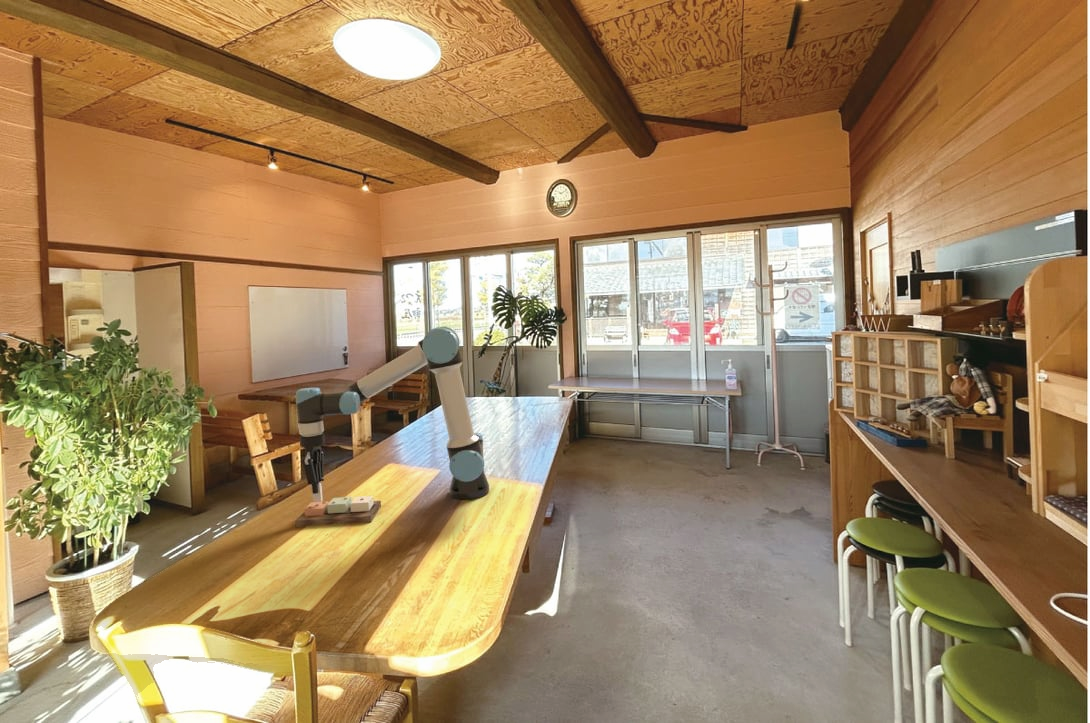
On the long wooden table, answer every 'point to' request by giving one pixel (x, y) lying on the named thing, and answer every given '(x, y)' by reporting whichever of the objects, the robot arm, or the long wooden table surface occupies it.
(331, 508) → the button two sage
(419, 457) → the long wooden table surface
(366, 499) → the button one cream
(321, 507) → the button three terracotta
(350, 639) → the long wooden table surface
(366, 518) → the brown wooden tray
